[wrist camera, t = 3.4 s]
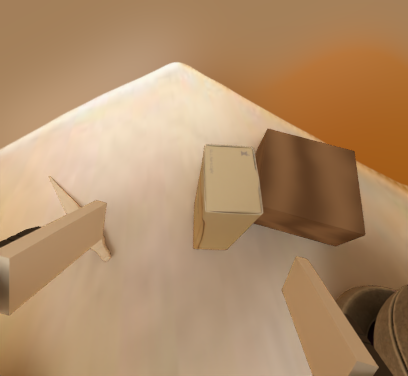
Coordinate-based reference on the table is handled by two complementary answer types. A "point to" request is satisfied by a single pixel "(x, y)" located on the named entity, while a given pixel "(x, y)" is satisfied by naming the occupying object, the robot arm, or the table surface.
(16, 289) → the robot arm
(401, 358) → the webcam
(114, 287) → the table surface
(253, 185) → the skincare box
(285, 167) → the walnut plinth
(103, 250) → the beige slender tapered piece
